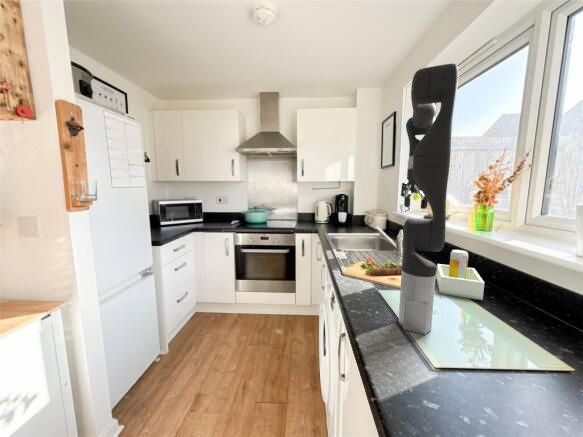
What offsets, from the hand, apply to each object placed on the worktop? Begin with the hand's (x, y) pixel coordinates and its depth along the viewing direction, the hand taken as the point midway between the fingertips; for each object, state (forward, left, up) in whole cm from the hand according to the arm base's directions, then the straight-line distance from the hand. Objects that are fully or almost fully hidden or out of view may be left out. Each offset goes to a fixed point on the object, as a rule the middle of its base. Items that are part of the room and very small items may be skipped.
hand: (415, 207), depth 101 cm
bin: (+7, -18, -34) cm, 39 cm away
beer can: (+7, -18, -33) cm, 38 cm away
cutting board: (+8, +11, -35) cm, 38 cm away
